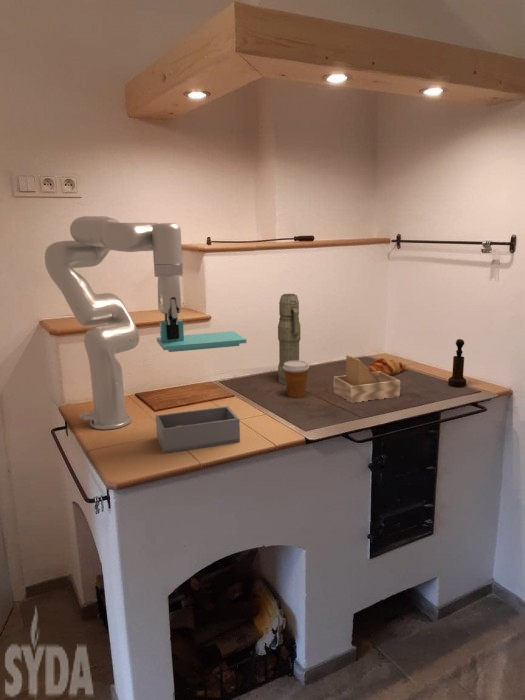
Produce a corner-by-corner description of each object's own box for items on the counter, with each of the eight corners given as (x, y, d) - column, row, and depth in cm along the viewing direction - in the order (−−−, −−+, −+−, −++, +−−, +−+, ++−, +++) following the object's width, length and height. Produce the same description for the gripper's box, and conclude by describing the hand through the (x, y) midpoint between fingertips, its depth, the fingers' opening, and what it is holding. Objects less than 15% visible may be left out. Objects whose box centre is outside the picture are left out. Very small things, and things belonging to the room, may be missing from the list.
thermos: (289, 387, 203) (288, 296, 195) (271, 380, 212) (270, 293, 205) (307, 383, 207) (307, 295, 200) (289, 377, 217) (289, 292, 209)
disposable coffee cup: (279, 397, 191) (279, 365, 189) (287, 390, 200) (287, 359, 197) (305, 400, 188) (305, 367, 185) (311, 392, 197) (312, 361, 194)
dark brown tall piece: (451, 381, 207) (454, 336, 203) (468, 384, 204) (471, 338, 200) (445, 385, 202) (448, 339, 198) (463, 388, 198) (466, 341, 194)
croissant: (401, 376, 228) (396, 358, 230) (415, 370, 219) (410, 352, 221) (360, 381, 220) (355, 363, 221) (373, 376, 211) (368, 357, 212)
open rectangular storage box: (351, 403, 184) (351, 386, 183) (333, 392, 197) (333, 376, 195) (399, 396, 190) (400, 380, 189) (379, 386, 203) (379, 371, 201)
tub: (163, 453, 145) (162, 429, 144) (157, 437, 156) (155, 415, 155) (240, 441, 152) (239, 419, 151) (228, 427, 163) (227, 406, 162)
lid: (164, 354, 139) (162, 326, 137) (156, 344, 151) (155, 318, 149) (246, 346, 146) (246, 319, 145) (233, 337, 158) (232, 313, 157)
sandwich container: (394, 395, 193) (395, 355, 189) (358, 401, 187) (359, 360, 183) (380, 388, 200) (381, 350, 197) (345, 394, 194) (346, 354, 191)
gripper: (150, 269, 147) (154, 333, 152) (158, 273, 133) (163, 345, 137) (177, 268, 150) (180, 331, 154) (188, 272, 135) (191, 342, 139)
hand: (172, 337), depth 145 cm, fingers closed on lid, 2 cm apart
